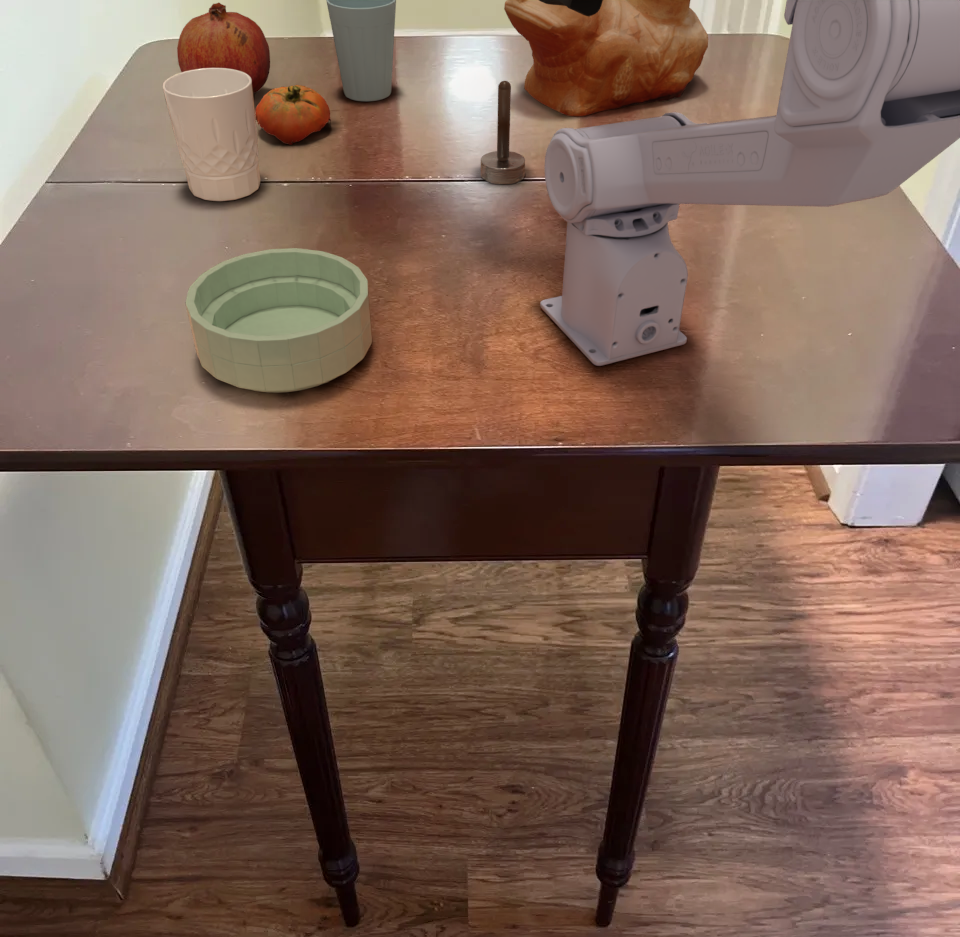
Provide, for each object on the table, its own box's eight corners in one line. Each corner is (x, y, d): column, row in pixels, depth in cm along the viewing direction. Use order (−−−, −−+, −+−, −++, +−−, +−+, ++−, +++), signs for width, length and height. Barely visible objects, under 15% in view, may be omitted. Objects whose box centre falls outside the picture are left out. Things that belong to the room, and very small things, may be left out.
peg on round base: (532, 180, 95) (536, 85, 89) (491, 187, 93) (493, 91, 87) (513, 163, 98) (515, 70, 92) (473, 170, 97) (473, 76, 91)
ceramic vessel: (478, 89, 114) (478, -51, 104) (659, 58, 123) (675, -74, 113) (536, 129, 105) (542, -20, 95) (727, 92, 114) (751, -48, 104)
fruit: (294, 97, 112) (283, 5, 105) (222, 120, 106) (206, 25, 100) (239, 75, 117) (226, -13, 111) (169, 96, 112) (150, 4, 105)
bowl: (396, 375, 69) (393, 315, 66) (219, 418, 65) (206, 357, 62) (342, 292, 78) (337, 235, 75) (184, 325, 74) (171, 267, 71)
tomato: (249, 134, 99) (255, 65, 99) (254, 157, 106) (260, 92, 106) (327, 145, 100) (333, 76, 100) (327, 166, 107) (333, 102, 107)
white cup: (185, 209, 89) (163, 100, 83) (182, 174, 95) (161, 71, 89) (270, 199, 91) (255, 93, 85) (262, 166, 97) (247, 64, 90)
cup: (413, 96, 112) (408, 0, 105) (355, 110, 109) (347, 12, 102) (380, 78, 117) (374, -15, 110) (324, 90, 114) (314, -5, 107)
